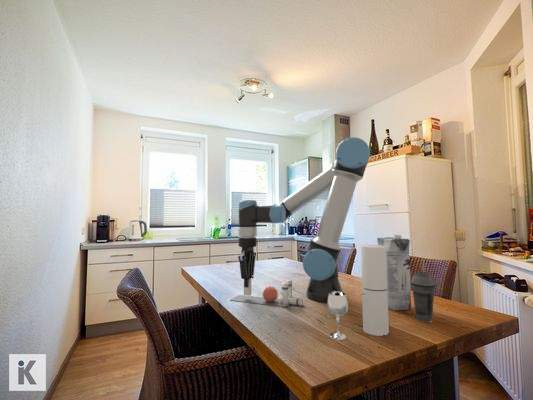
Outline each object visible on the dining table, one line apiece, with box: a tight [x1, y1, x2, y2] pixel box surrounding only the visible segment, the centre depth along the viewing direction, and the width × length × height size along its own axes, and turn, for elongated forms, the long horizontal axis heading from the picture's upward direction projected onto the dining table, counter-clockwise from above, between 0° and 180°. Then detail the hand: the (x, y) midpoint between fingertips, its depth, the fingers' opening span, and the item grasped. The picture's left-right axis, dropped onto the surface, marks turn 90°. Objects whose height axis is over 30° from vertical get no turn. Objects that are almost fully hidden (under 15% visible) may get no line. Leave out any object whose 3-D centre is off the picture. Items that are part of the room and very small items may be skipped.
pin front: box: [280, 296, 304, 306], centre depth 107 cm, size 2×2×8 cm
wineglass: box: [326, 291, 349, 341], centre depth 79 cm, size 6×6×12 cm
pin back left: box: [281, 282, 289, 308], centre depth 106 cm, size 2×2×8 cm
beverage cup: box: [410, 258, 437, 323], centre depth 92 cm, size 7×7×20 cm
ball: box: [262, 286, 279, 302], centre depth 111 cm, size 6×6×6 cm
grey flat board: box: [230, 294, 290, 308], centre depth 112 cm, size 24×8×1 cm, turn 69°
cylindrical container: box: [360, 244, 390, 337], centre depth 83 cm, size 7×7×25 cm
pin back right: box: [285, 279, 293, 298], centre depth 111 cm, size 2×2×8 cm
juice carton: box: [376, 234, 412, 312], centre depth 105 cm, size 9×10×27 cm
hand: (247, 294), depth 114 cm, fingers closed
